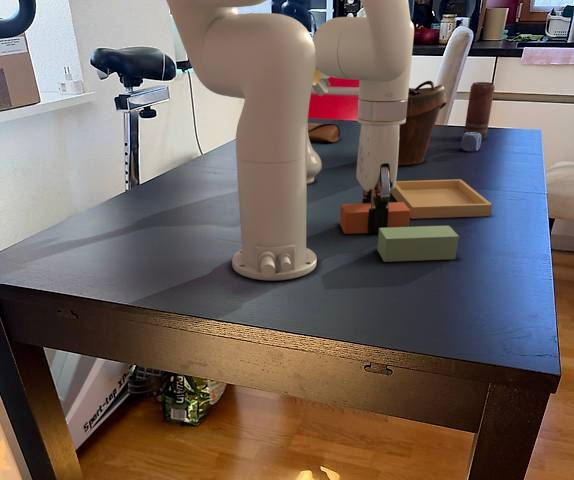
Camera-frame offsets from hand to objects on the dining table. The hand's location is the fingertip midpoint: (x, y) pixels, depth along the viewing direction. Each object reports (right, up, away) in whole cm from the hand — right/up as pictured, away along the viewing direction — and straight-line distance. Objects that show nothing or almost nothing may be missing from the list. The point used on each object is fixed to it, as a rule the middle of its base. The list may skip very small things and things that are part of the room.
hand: (373, 225), depth 99 cm
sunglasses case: (-10, +42, +64) cm, 77 cm away
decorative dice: (+33, +33, +50) cm, 69 cm away
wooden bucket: (+12, +27, +42) cm, 52 cm away
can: (+38, +41, +62) cm, 84 cm away
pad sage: (+5, -7, -10) cm, 14 cm away
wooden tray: (+14, +8, +12) cm, 20 cm away
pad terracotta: (0, 0, 0) cm, 0 cm away
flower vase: (-12, +17, +27) cm, 34 cm away
